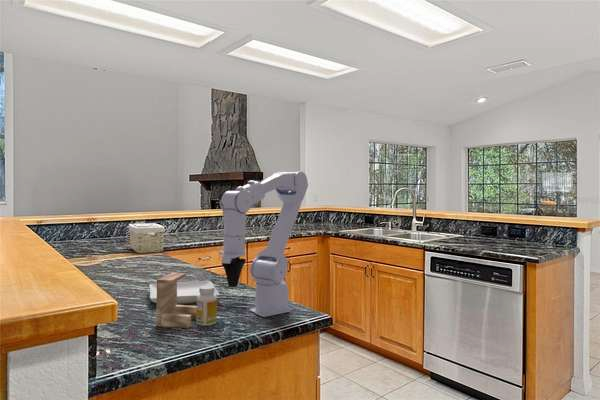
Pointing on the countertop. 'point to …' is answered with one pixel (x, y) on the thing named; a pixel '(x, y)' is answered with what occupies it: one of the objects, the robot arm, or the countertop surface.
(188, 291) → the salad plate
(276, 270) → the robot arm
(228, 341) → the countertop surface
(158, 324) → the socket station
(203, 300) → the supplement bottle
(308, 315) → the countertop surface
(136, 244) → the storage basket
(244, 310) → the countertop surface
